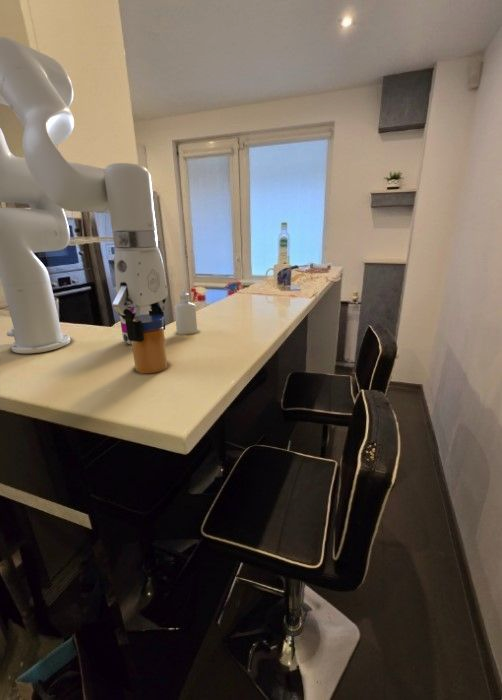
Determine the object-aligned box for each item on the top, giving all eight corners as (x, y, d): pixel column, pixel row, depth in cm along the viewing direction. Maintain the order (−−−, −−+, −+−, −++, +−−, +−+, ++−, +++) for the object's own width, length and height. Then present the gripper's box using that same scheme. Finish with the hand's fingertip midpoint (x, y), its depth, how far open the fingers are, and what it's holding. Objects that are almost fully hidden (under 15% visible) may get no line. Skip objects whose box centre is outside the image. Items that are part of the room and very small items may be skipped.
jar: (129, 371, 66) (122, 324, 63) (146, 360, 72) (140, 316, 68) (157, 374, 65) (152, 326, 61) (172, 362, 70) (168, 318, 67)
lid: (151, 332, 61) (150, 324, 61) (121, 329, 63) (119, 321, 62) (170, 322, 67) (169, 315, 67) (142, 320, 69) (141, 313, 69)
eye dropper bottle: (182, 329, 94) (178, 287, 89) (199, 331, 92) (197, 288, 88) (174, 333, 90) (170, 290, 85) (192, 335, 88) (189, 291, 84)
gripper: (121, 244, 51) (136, 351, 57) (178, 240, 66) (185, 324, 72) (83, 243, 53) (101, 347, 59) (146, 239, 68) (155, 322, 75)
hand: (147, 334), depth 66 cm, fingers closed on lid, 6 cm apart
